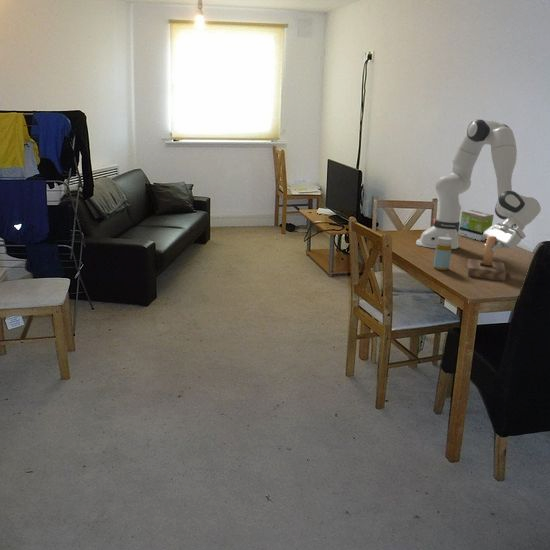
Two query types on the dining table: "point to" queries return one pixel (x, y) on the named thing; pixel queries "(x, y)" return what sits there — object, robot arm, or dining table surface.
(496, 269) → the socket block
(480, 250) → the dining table surface
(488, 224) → the tea box
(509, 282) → the dining table surface
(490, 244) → the peg
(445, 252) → the bottle
